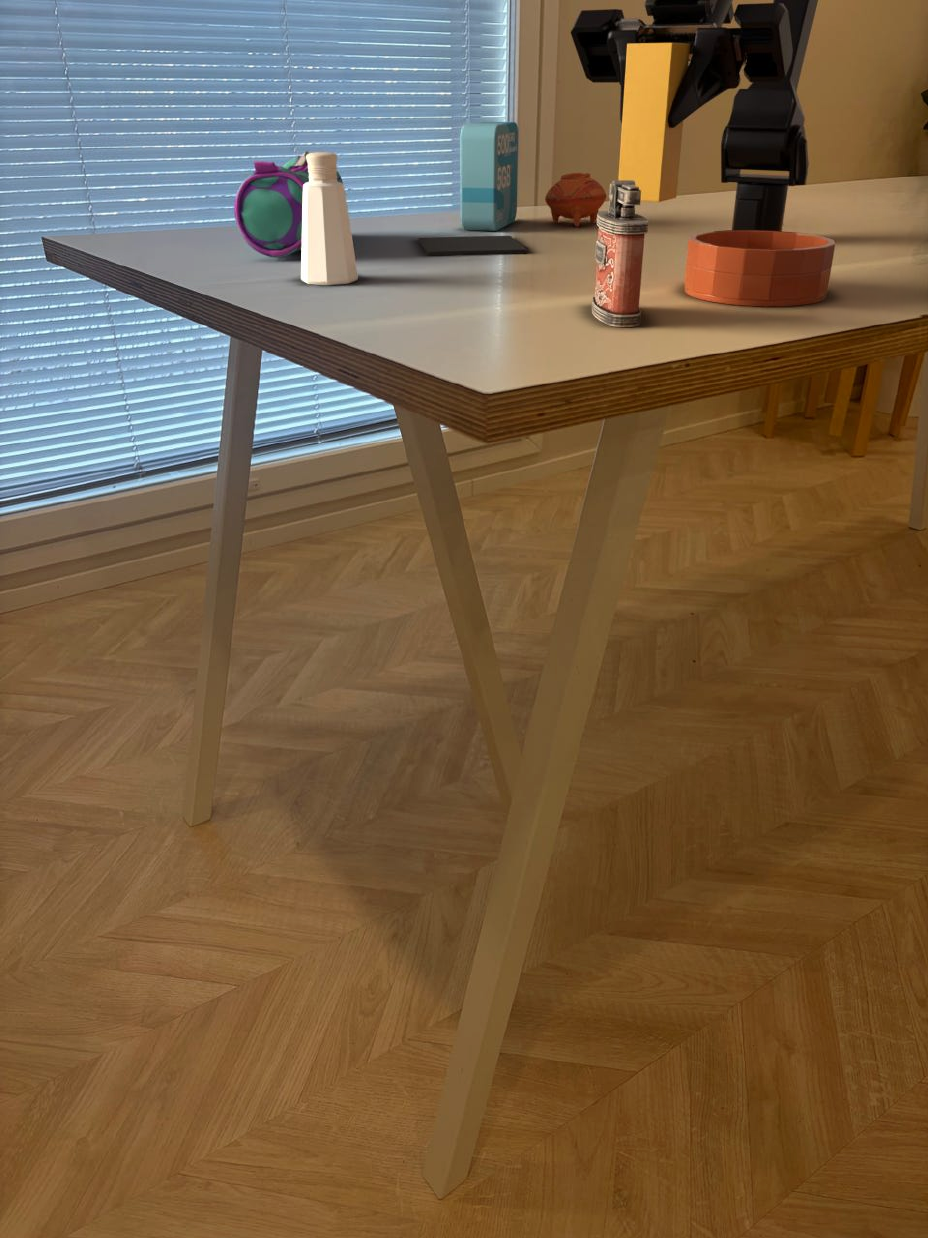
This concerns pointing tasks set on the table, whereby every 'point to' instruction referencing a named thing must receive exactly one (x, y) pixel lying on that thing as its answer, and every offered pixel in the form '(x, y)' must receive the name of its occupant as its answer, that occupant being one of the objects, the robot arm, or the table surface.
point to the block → (652, 118)
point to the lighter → (619, 257)
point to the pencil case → (273, 206)
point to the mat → (471, 245)
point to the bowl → (758, 267)
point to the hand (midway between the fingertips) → (646, 123)
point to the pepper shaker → (326, 225)
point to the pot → (575, 197)
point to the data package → (488, 175)
